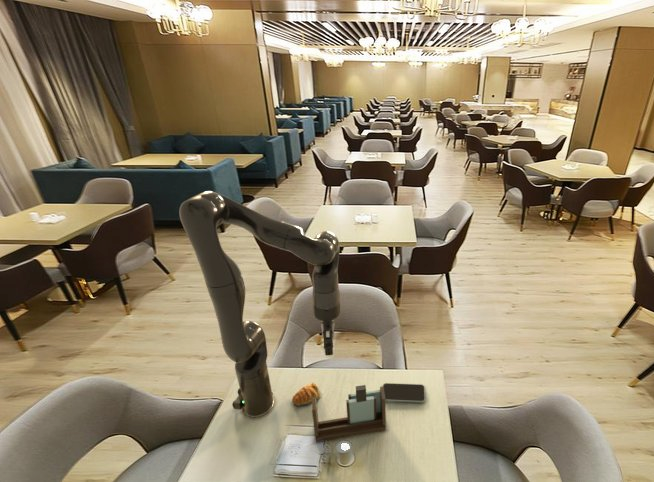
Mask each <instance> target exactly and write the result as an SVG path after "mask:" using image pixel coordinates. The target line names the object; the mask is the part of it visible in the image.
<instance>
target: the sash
mask: <svg viewBox="0 0 654 482" xmlns="http://www.w3.org/2000/svg"><path fill="white" fill-rule="evenodd" d="M366 392H367V387H366V384H362V385H361V384H360V385H356V386H355V394H356V399H351V400H349V399H346V400H345V403H346V417H347V419H348V424H354V423H360V422H366V421H372V420H377V416H376V396H371V397H366Z"/></svg>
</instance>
